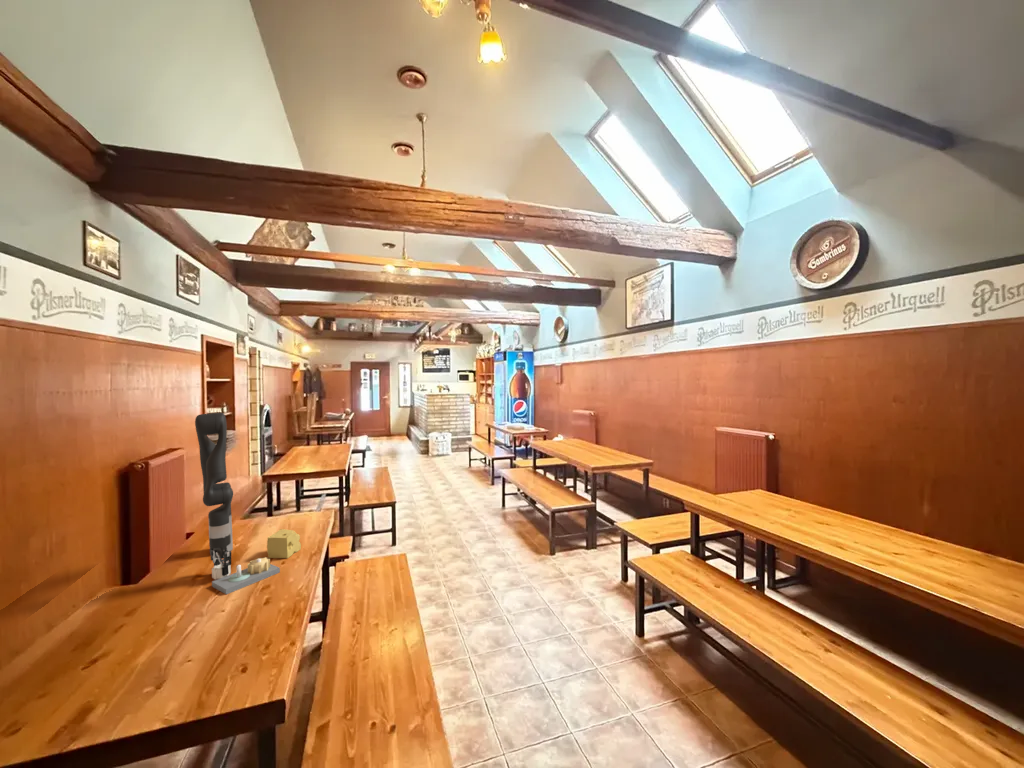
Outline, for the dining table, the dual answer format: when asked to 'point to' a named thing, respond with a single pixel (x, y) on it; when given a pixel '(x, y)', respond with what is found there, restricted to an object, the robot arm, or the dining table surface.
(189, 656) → the dining table surface
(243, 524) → the dining table surface
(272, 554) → the cheese
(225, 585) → the gear board
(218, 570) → the nylon gear
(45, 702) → the dining table surface
